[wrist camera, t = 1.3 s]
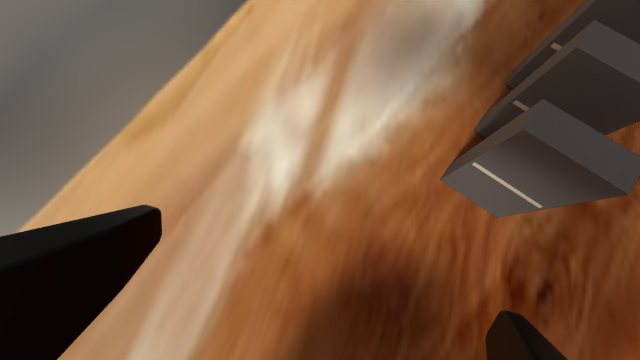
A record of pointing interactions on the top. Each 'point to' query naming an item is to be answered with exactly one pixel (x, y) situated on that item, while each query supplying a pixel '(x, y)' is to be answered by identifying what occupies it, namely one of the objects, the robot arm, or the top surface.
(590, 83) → the domino
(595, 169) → the domino
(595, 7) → the domino
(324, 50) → the top surface
